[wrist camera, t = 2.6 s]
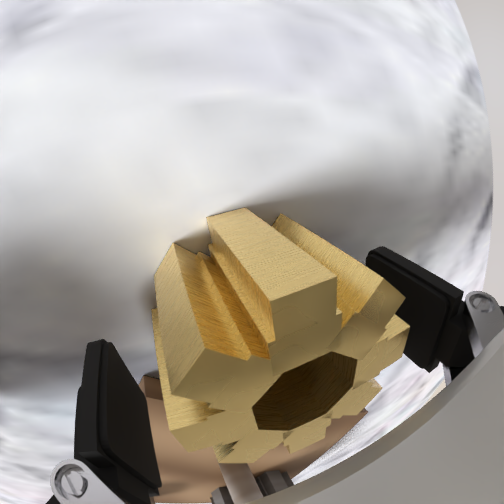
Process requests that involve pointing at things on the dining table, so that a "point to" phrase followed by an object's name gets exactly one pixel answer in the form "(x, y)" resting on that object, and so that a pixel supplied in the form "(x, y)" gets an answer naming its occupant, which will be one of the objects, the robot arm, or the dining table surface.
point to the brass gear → (268, 337)
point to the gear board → (201, 462)
